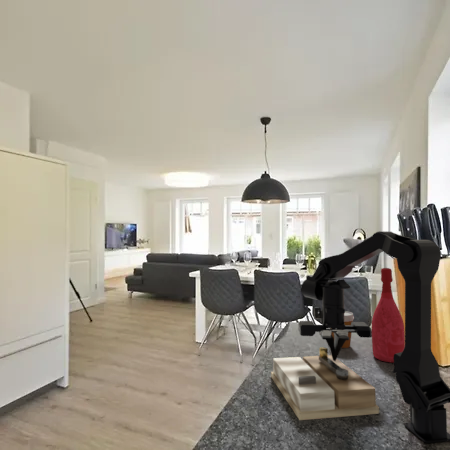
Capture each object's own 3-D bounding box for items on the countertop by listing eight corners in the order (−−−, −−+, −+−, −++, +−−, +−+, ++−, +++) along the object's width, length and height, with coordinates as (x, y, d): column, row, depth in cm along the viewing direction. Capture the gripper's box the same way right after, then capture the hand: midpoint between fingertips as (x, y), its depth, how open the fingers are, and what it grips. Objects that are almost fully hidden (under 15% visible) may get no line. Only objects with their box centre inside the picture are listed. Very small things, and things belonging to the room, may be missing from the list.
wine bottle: (386, 365, 104) (384, 269, 106) (365, 354, 114) (363, 267, 115) (412, 362, 107) (409, 268, 108) (389, 352, 116) (387, 266, 118)
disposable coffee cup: (322, 343, 126) (321, 311, 127) (341, 340, 130) (340, 309, 131) (340, 351, 118) (340, 317, 118) (360, 347, 122) (359, 314, 122)
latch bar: (350, 379, 81) (350, 364, 81) (339, 379, 80) (339, 365, 81) (326, 359, 94) (326, 347, 94) (317, 360, 93) (316, 347, 94)
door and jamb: (379, 413, 76) (378, 382, 76) (299, 420, 74) (299, 388, 74) (333, 373, 99) (332, 349, 99) (271, 377, 96) (270, 352, 97)
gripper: (359, 298, 99) (360, 351, 99) (295, 297, 101) (296, 349, 101) (371, 306, 88) (373, 365, 88) (300, 305, 90) (301, 363, 90)
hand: (334, 360), depth 92 cm, fingers closed
